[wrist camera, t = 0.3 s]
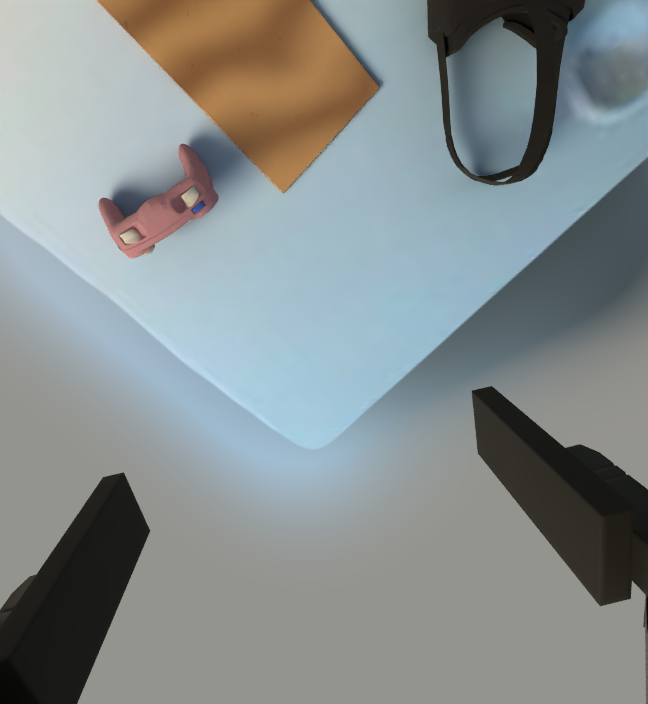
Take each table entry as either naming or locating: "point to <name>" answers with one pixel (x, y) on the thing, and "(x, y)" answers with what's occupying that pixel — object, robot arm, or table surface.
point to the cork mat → (256, 72)
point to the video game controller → (162, 209)
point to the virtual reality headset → (530, 24)
